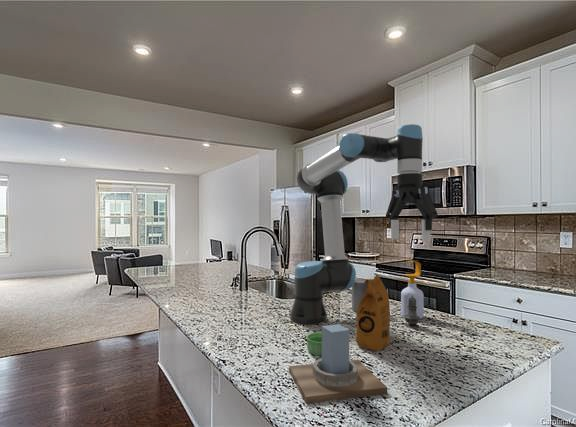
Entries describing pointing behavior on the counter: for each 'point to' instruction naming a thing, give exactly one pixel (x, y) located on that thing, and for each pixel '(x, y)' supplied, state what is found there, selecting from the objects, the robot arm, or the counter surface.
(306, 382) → the collar plate
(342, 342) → the slate peg
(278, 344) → the counter surface
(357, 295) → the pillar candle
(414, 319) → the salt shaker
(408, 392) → the counter surface
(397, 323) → the counter surface
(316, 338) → the ramekin
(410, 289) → the soap bottle
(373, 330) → the coffee package
